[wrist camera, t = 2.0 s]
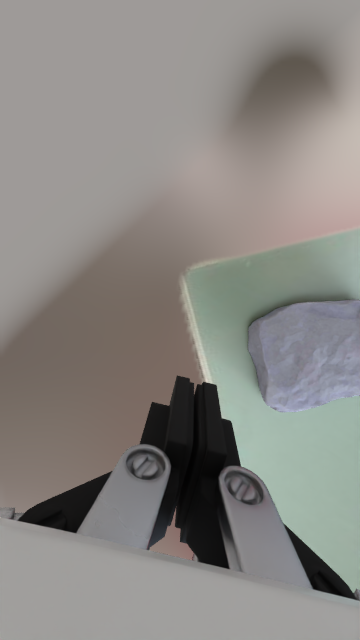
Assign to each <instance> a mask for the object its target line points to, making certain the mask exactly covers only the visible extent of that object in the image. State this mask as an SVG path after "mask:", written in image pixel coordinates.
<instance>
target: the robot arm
mask: <svg viewBox="0 0 360 640" xmlns="http://www.w3.org/2000/svg"><path fill="white" fill-rule="evenodd" d="M175 508H176V519H175V527H176V528H180V529H181V533H180V542H183V543H187V544H188V545H189V547H190V548H191V550H192V551H193V552H194V554H193V557H192V560H188V559H183V558H179V557H175V556H171V555H166V554H162V553H158V552H154V551H149V549H150V547H151V546H152V545H154V544H155V543H156V542H158V541H159V540H160V539H162V538H163V537H164V536H165V533H166V529H167V526H170V525H171V522H172V519H173V515H174V512H175ZM0 640H360V590H358V589H356V591H355V592H354V593H352V591H351V590H350V588H349V587H348V585H347V584H346V583H345V582H344V581H343V580H342V579H341V578H340V576H339V575H338V574H337V573H335V572H334V571H333V570H332V569H331V568H330V567H329V566H328V565H327V564H326V563H325V562H324V561H323V560H322V559H321V558H320V557H319V556H317V555H316V554H315V553H314V552H313V551H312V550H311V549H310V548H309V547H308V546H307V545H306V544H305V543H304V542H303V541H302V540H301V539H299V538H298V537H297V536H296V535H295V534H294V533H293V532H292V531H291V530H290V529H289V528H288V527H287V526H286V525H285V524H284V523H283V522H282V520H281V518H280V515H279V513H278V511H277V509H276V507H275V504H274V502H273V500H272V498H271V496H270V493H269V491H268V489H267V487H266V486H265V484H264V482H263V481H262V480H261V479H260V478H259V477H258V476H257V475H256V474H254V473H253V472H252V471H250V470H248V469H246V468H244V467H241V465H240V460H239V455H238V450H237V446H236V441H235V436H234V431H233V427H232V423H231V421H230V420H226V419H222V418H221V411H220V405H219V399H218V392H217V386H216V385H214V384H210V383H206V382H203V383H202V385H199V384H198V385H197V388H196V391H195V394H194V383H191V382H190V379H189V378H185V377H181V376H177V378H176V381H175V386H174V389H173V394H172V397H171V401H170V405H169V406H167V405H163V404H158V403H154V402H152V404H151V407H150V411H149V414H148V418H147V421H146V424H145V428H144V431H143V434H142V438H141V441H140V444H139V445H135V446H132V447H130V448H129V449H127V450H126V451H125V452H124V453H123V455H122V456H121V458H120V460H119V461H118V463H117V465H116V467H115V468H114V470H113V471H111V472H109V473H107V474H104V475H102V476H100V477H98V478H96V479H93V480H91V481H89V482H86V483H85V484H82V485H80V486H77V487H75V488H73V489H71V490H69V491H66V492H64V493H62V494H59V495H57V496H55V497H53V498H50V499H48V500H46V501H44V502H41V503H39V504H37V505H36V506H34V507H32V508H30V509H29V510H27V511H26V512H25V513H15V508H0Z"/></svg>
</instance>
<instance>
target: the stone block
mask: <svg viewBox="0 0 360 640" xmlns="http://www.w3.org/2000/svg"><path fill="white" fill-rule="evenodd" d="M248 334H249V342H248V351H249V353H250V355H251V356H252V360H253V362H254V364H255V367H256V370H257V377H258V383H259V388H260V391H261V394H262V397H263V399H264V402H265V403H266V405H268V406H270V407H271V408H273V409H275V410H277V411H280V412H297V411H301V410H306V409H309V408H314V407H317V406H321V405H323V404H326V403H328V402H330V401H333V400H336V399H339V398H343V397H352V396H360V300H355V299H353V300H343V301H323V302H304V303H295V304H291V305H289V306H284V307H281V308H277V309H275V310H273V311H272V312H270V313H269V314H267V315H265V316H264V317H261V318H259V319H257V320H255V321H253V322H252V324H251V325H250V326H249V330H248Z"/></svg>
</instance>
